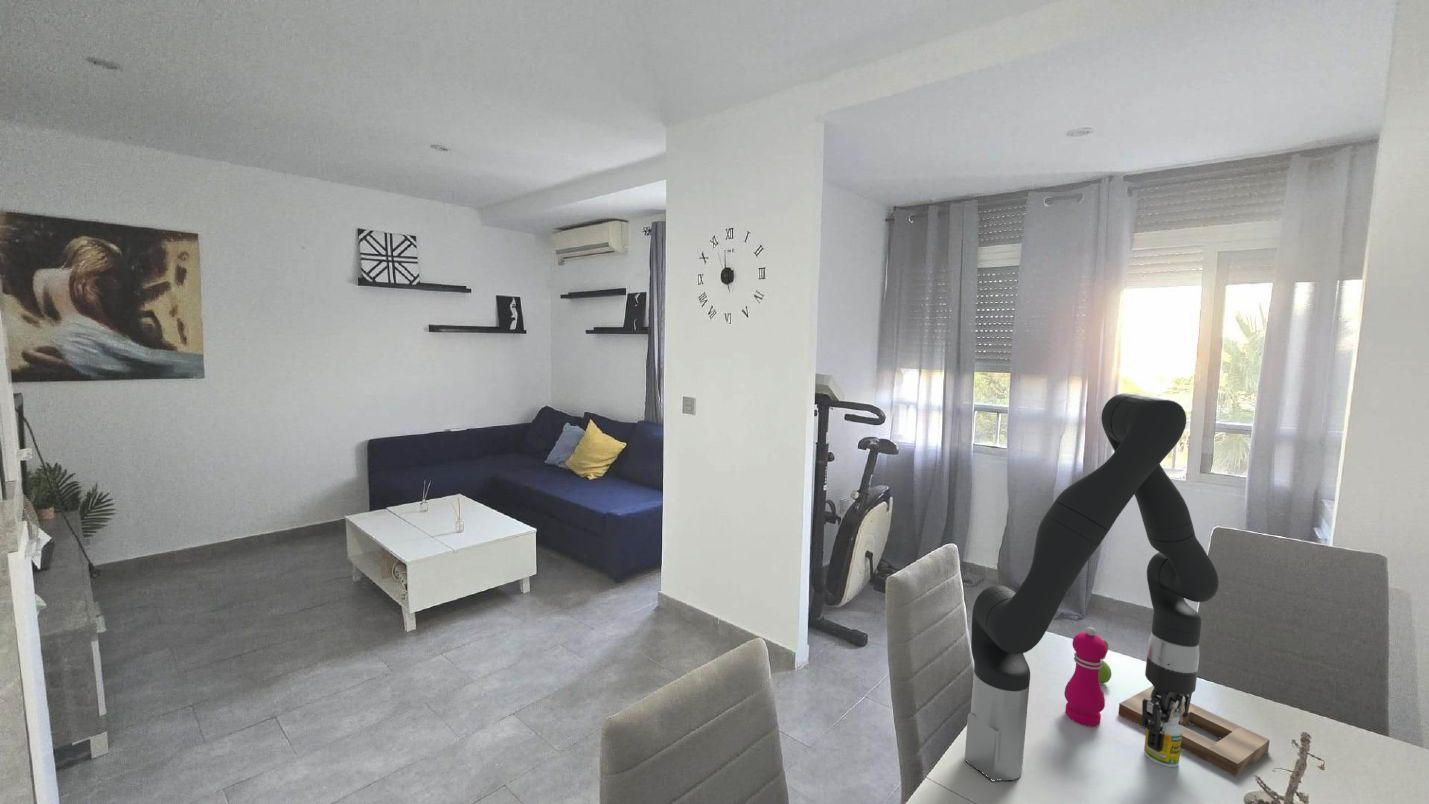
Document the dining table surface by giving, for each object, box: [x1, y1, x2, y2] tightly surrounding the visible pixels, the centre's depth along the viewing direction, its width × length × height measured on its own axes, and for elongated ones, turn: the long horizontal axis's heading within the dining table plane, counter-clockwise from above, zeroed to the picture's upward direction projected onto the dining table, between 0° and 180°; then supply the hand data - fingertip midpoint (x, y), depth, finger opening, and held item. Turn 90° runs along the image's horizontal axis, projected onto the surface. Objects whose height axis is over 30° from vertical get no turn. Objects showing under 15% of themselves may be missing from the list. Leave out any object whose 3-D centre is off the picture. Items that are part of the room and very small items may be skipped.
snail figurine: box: [1099, 638, 1112, 685], centre depth 136 cm, size 5×6×12 cm
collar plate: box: [1118, 685, 1270, 777], centre depth 119 cm, size 14×20×2 cm
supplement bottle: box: [1143, 712, 1182, 768], centre depth 111 cm, size 5×5×10 cm
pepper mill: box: [1064, 626, 1108, 728], centre depth 122 cm, size 7×7×20 cm
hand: (1162, 743), depth 111 cm, fingers closed on supplement bottle, 5 cm apart
